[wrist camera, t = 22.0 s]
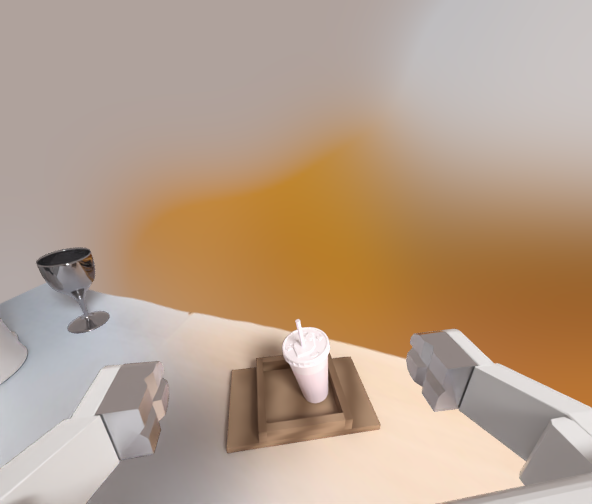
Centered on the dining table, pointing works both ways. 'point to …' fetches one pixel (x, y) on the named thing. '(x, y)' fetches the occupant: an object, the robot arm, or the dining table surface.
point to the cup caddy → (294, 405)
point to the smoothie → (308, 360)
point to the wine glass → (73, 283)
